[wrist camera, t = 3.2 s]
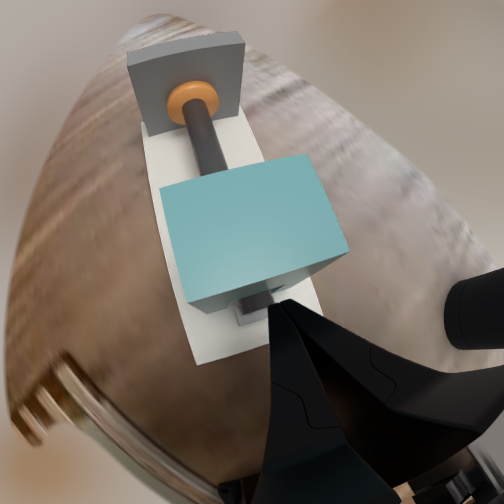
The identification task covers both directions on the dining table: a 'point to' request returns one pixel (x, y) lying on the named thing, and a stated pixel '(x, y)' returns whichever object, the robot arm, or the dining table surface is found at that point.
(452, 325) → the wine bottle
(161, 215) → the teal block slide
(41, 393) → the dining table surface
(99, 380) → the dining table surface
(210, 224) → the teal block on rod
